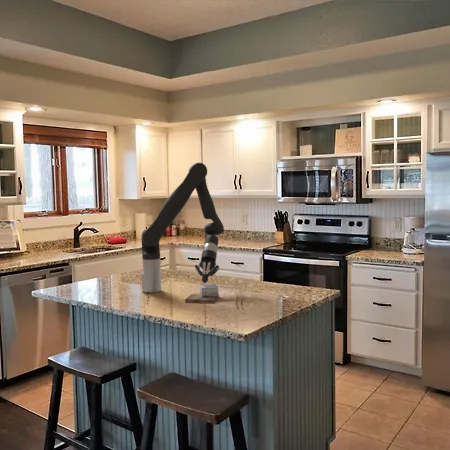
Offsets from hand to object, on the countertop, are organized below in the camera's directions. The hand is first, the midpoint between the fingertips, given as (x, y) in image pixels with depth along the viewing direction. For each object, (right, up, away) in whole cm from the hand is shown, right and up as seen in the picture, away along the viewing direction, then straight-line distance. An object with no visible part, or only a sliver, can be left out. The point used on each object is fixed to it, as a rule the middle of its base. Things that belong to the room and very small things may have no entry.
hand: (204, 282), depth 242 cm
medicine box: (+2, -4, +4) cm, 5 cm away
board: (-1, -8, -5) cm, 9 cm away
